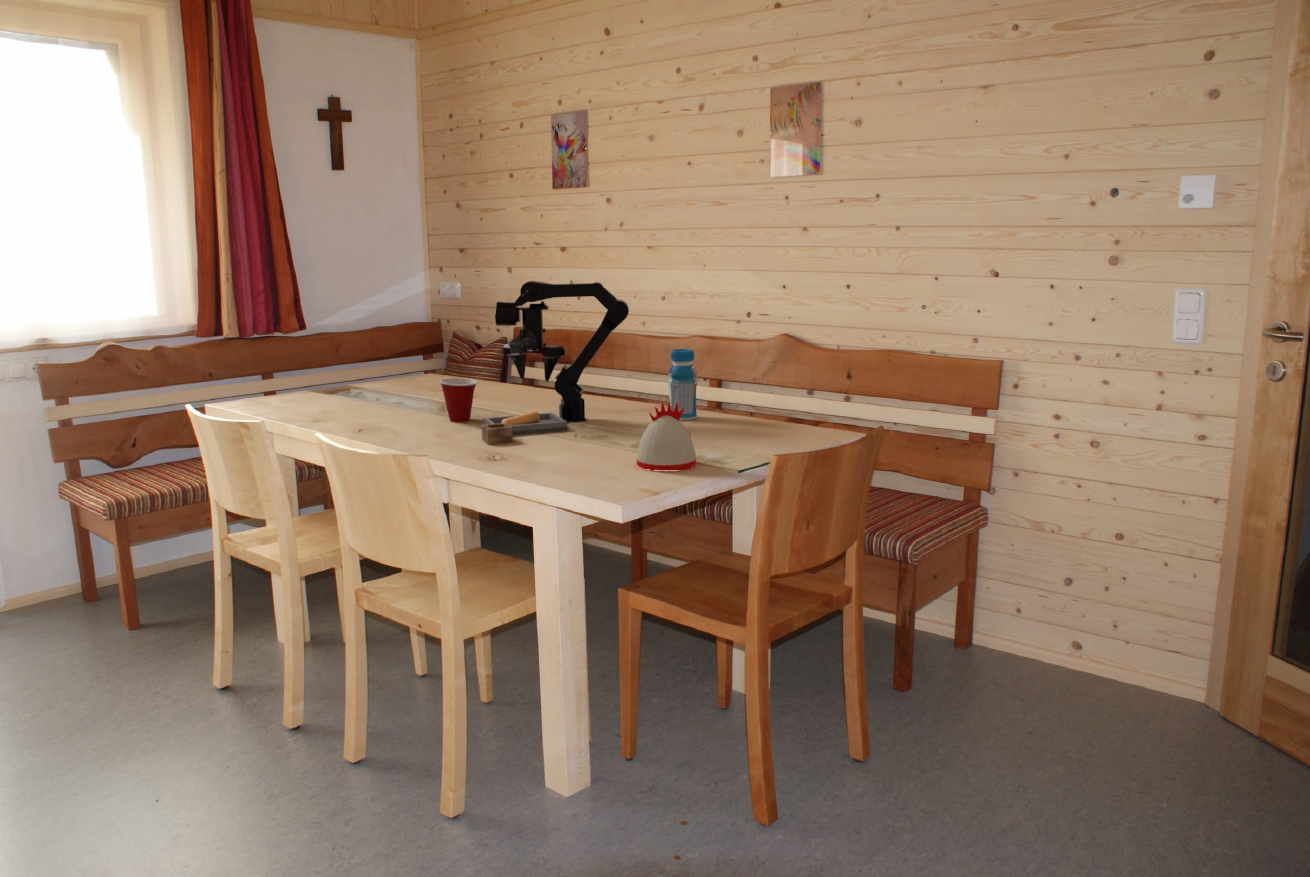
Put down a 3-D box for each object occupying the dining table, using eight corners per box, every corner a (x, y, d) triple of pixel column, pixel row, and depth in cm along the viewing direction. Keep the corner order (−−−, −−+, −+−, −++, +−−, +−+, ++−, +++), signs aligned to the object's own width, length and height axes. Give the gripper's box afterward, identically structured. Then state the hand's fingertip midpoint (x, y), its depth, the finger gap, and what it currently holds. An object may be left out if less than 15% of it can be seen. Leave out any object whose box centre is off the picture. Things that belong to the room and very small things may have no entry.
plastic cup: (471, 424, 279) (468, 383, 276) (435, 423, 281) (433, 382, 278) (484, 417, 289) (483, 377, 287) (450, 416, 291) (448, 376, 289)
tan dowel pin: (534, 409, 276) (503, 416, 265) (541, 415, 275) (510, 423, 264) (530, 417, 277) (499, 425, 267) (537, 424, 276) (506, 432, 265)
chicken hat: (699, 471, 222) (699, 406, 219) (638, 473, 221) (638, 408, 218) (692, 457, 236) (691, 396, 233) (635, 459, 235) (634, 397, 232)
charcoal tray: (551, 421, 283) (551, 412, 282) (567, 430, 269) (567, 421, 268) (483, 426, 275) (483, 418, 275) (496, 436, 262) (495, 427, 261)
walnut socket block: (506, 437, 260) (505, 422, 260) (512, 442, 254) (512, 427, 254) (482, 439, 258) (481, 424, 257) (487, 444, 252) (487, 429, 251)
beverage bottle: (680, 422, 279) (679, 352, 275) (662, 417, 286) (661, 350, 281) (703, 418, 284) (703, 350, 280) (685, 414, 290) (684, 347, 286)
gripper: (488, 326, 276) (491, 381, 279) (540, 329, 266) (542, 386, 269) (514, 323, 285) (516, 376, 288) (565, 326, 275) (566, 380, 278)
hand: (534, 379), depth 281 cm, fingers open, 9 cm apart
